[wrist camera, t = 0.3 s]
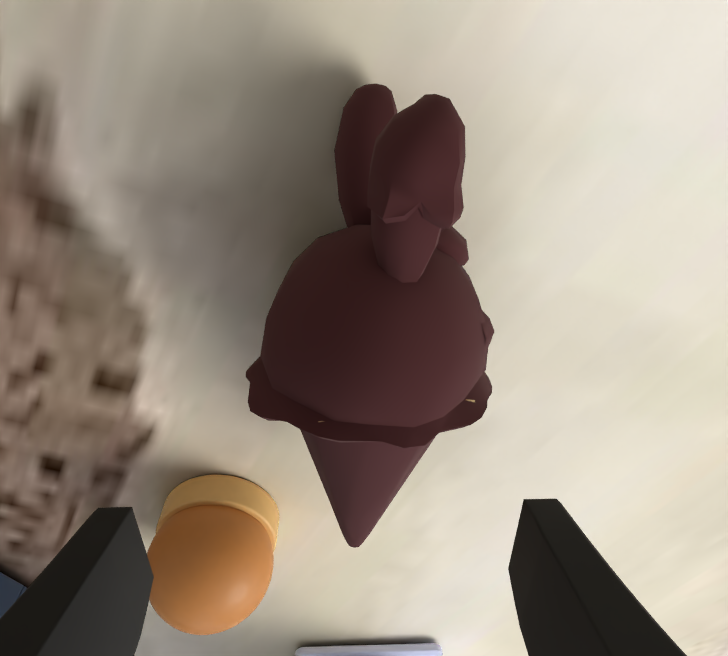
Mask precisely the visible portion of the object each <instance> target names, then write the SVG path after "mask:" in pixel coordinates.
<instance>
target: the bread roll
mask: <svg viewBox="0 0 728 656" xmlns="http://www.w3.org/2000/svg"><path fill="white" fill-rule="evenodd" d="M278 525H279V512H278V508H277V506H276V503H275V502H274V500H273V499H272V497H271V496H270V495H269V494H268V493H267V492H266V491H265V490H263V489H262V488H261V487H259V486H258V485H256V484H254V483H252V482H250V481H247V480H245V479H241V478H238V477H234V476H228V475H205V476H199V477H195V478H192V479H189V480H187V481H185V482H183V483H181V484H180V485H178V486H177V487H176V488H174V489H173V490H172V491H171V493H170V494H169V495H168V497H167V499H166V501H165V504H164V507H163V509H162V512H161V515H160V518H159V521H158V524H157V527H156V535H155V537H154V538H153V541H152V543H151V545H150V547H149V550H148V553H147V557H148V560H149V563H150V566H151V569H152V572H153V576H154V579H153V583H152V588H151V593H150V597H149V600H150V602H151V605H152V606H153V608H154V609H155V611H156V612H157V614H158V615H159V616H160V617H161V618H162V619H163V620H164V621H165V622H166V623H167V624H169V625H170V626H172V627H174V628H176V629H178V630H180V631H182V632H185V633H189V634H195V635H209V634H215V633H219V632H222V631H225V630H228V629H230V628H232V627H234V626H236V625H237V624H239V623H240V622H242V621H243V620H244V619H246V618H247V617H248V616H249V615H250V614H251V613H252V612H253V611H254V610H255V609H256V607H257V606H258V605H259V603H260V602H261V600H262V599H263V597H264V595H265V593H266V591H267V589H268V586H269V583H270V581H271V576H272V571H273V561H274V560H273V552H274V550H275V547H276V541H277V533H278Z"/></svg>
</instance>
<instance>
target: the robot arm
mask: <svg viewBox="0 0 728 656" xmlns="http://www.w3.org/2000/svg"><path fill="white" fill-rule="evenodd" d="M508 570H509V575H510V580H511V585H512V591H513V596H514V601H515V606H516V610H517V615H518V620H519V625H520V628H521V632H522V635H523V638H524V642H525V645H526V648H527V651H528V655H529V656H687V655H686V654H685V653H684V652H683V651H682V650H681V649H680V648H679V647H678V646H677V645H676V644H675V642H674V641H673V640H672V639H671V638H670V637H669V636H668V635H667V633H666V632H665V631H664V630H663V629H662V628H661V627H660V626H659V624H658V623H657V622H656V621H655V620H654V619H653V618H652V616H651V615H650V614H649V613H648V612H647V610H646V609H645V608H644V607H643V606H642V605H641V603H640V602H639V601H638V600H637V599H636V597H635V596H634V595H633V594H632V593H631V592H630V590H629V589H628V588H627V587H626V586H625V584H624V583H623V582H622V581H621V580H620V578H619V577H618V576H617V575H616V573H615V572H614V571H613V570H612V568H611V567H610V566H609V565H608V563H607V562H606V561H605V560H604V558H603V557H602V556H601V555H600V553H599V552H598V551H597V550H596V548H595V547H594V546H593V544H592V543H591V542H590V541H589V539H588V538H587V537H586V535H585V534H584V533H583V532H582V530H581V529H580V528H579V526H578V525H577V524H576V522H575V521H574V520H573V518H572V517H571V516H570V514H569V513H568V512H567V510H566V509H565V508H564V507H563V505H562V504H561V503H560V502H559V501H558V500H557V499H524V501H523V505H522V510H521V514H520V519H519V523H518V528H517V532H516V537H515V541H514V545H513V550H512V554H511V559H510V563H509V568H508ZM153 579H154V576H153V572H152V569H151V566H150V563H149V560H148V557H147V553H146V550H145V547H144V544H143V541H142V538H141V534H140V531H139V528H138V525H137V522H136V519H135V515H134V512H133V509H132V507H114V508H98V509H96V510H95V511H94V512H93V513H92V515H91V516H90V517H89V518H88V519H87V520H86V521H85V523H84V524H83V525H82V526H81V527H80V528H79V530H78V531H77V532H76V533H75V534H74V535H73V537H72V538H71V539H70V540H69V541H68V542H67V544H66V545H65V546H64V547H63V548H62V549H61V551H60V552H59V553H58V554H57V555H56V556H55V558H54V559H53V560H52V561H51V562H50V563H49V564H48V566H47V567H46V568H45V569H44V570H43V571H42V573H41V574H40V575H39V576H38V577H37V578H36V579H35V581H34V582H33V583H32V584H31V585H30V586H29V587H28V588H27V589H26V591H25V592H24V593H23V594H22V595H21V596H20V597H19V598H18V599H17V601H16V602H15V603H14V604H13V605H12V606H11V607H10V608H9V609H8V610H7V612H6V613H5V614H4V615H3V616H2V617H1V618H0V656H134V654H135V651H136V648H137V645H138V642H139V639H140V636H141V632H142V628H143V624H144V619H145V615H146V611H147V607H148V602H149V597H150V593H151V588H152V583H153ZM442 655H443V653H442V647H441V646H440V645H439V644H436V643H422V644H387V645H353V646H318V647H300V648H298V649H297V650H296V652H295V656H442Z"/></svg>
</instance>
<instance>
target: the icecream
mask: <svg viewBox="0 0 728 656" xmlns="http://www.w3.org/2000/svg"><path fill="white" fill-rule="evenodd" d="M334 152H335V163H336V174H337V184H338V195H339V202H340V205H341V208H342V212H343V215H344V218H345V221H346V225H347V228H345V229H342V230H339V231H336V232H333V233H330V234H327V235H324V236H322V237H319V238H317V239H316V240H315V241H314V242H313V243H312V244H311V245H310V246H309V247H308V248H307V249H306V250H305V251H304V252H303V253H302V254H300V255H299V256H298V257H297V258H296V259H295V260H294V261H293V263H292V265H291V267H290V269H289V271H288V272H287V274H286V276H285V278H284V280H283V282H282V284H281V285H280V287H279V289H278V292H277V294H276V296H275V299H274V301H273V303H272V306H271V308H270V311H269V313H268V315H267V318H266V324H265V330H264V336H263V342H262V349H261V356H260V357H259V358H258V359H257V360H256V361H255V362H254V363H253V364H252V365H251V366H250V368H249V369H248V370H247V371H246V378H247V379H248V380H249V382H250V388H249V397H248V404H249V408H250V411H251V412H253V413H255V414H256V415H258V416H260V417H262V418H264V419H267V420H270V421H285V422H288V423H290V424H292V425H294V426H295V427H297V428H299V429H300V430H301V432H302V435H303V437H304V440H305V442H306V444H307V447H308V449H309V452H310V454H311V457H312V459H313V462H314V464H315V466H316V469H317V471H318V474H319V476H320V479H321V481H322V483H323V486H324V488H325V491H326V493H327V496H328V498H329V501H330V503H331V506H332V508H333V511H334V513H335V516H336V518H337V521H338V523H339V526H340V529H341V531H342V533H343V535H344V537H345V540H346V542H347V543H348V545H349V546H351V547H354V548H355V547H359V546H360V545H361V544H362V543H363V542H364V540H365V539H366V538H367V536H368V535H369V534H370V532H371V531H372V529H373V528H374V526H375V525H376V523H377V522H378V520H379V519H380V518H381V516H382V515H383V513H384V512H385V510H386V509H387V507H388V506H389V504H390V503H391V501H392V500H393V498H394V497H395V495H396V494H397V492H398V491H399V489H400V488H401V486H402V485H403V484H404V482H405V481H406V479H407V478H408V476H409V475H410V473H411V472H412V470H413V469H414V467H415V466H416V464H417V463H418V461H419V460H420V459H421V457H422V456H423V454H424V453H425V451H426V450H427V448H428V447H429V445H430V444H431V442H432V441H433V439H434V438H435V436H436V435H437V434H438V433H440V432H445V431H449V430H454V429H458V428H462V427H465V426H468V425H471V424H473V423H474V422H476V421H477V420H479V419H480V418H482V416H483V414H484V412H485V410H486V408H487V400H488V398H489V396H490V395H491V393H492V385H491V383H490V380H489V378H488V376H487V375H486V373H485V372H484V371H485V370H486V362H487V352H488V346H489V344H490V342H491V339H492V336H493V334H494V329H493V326H492V324H491V321H490V318H489V317H488V316H487V315H486V314H485V313H484V312H483V311H482V309H481V306H480V303H479V299H478V297H477V294H476V292H475V289H474V287H473V284H472V282H471V280H470V277H469V275H468V274H467V273H466V271H465V270H464V268H463V267H462V265H465V264H466V262H467V261H468V259H469V257H468V250H467V243H466V239H465V238H464V237H463V236H462V235H460V234H459V233H458V232H457V231H456V230H455V229H454V228H453V227H452V225H453V224H454V223H455V222H456V221H457V220H458V219H459V218H460V217H461V214H462V211H463V208H464V207H463V198H462V188H461V183H462V176H463V169H464V163H465V126H464V124H463V122H462V120H461V119H460V117H459V115H458V113H457V111H456V110H455V108H454V106H453V104H452V102H451V100H450V99H449V98H446V97H443V96H440V95H437V94H429V95H424V96H423V97H422V98H421V99H419V100H418V101H417V102H416V103H415V104H413V105H411V106H410V107H408V108H406V109H404V110H402V111H401V112H399V113H397V109H396V105H395V102H394V98H393V95H392V91H391V90H389V89H388V88H387V87H386V86H384V85H379V84H368V85H364V86H362V87H360V88H358V89H356V90H355V92H354V93H353V95H352V96H351V98H350V99H349V101H348V102H347V104H346V105H345V107H344V109H343V113H342V118H341V123H340V127H339V132H338V136H337V141H336V146H335V150H334Z"/></svg>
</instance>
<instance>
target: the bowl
mask: <svg viewBox="0 0 728 656" xmlns="http://www.w3.org/2000/svg"><path fill="white" fill-rule="evenodd" d="M26 589H27V587H26V586H24V585H22V584H21V583H19V582H17V581H15V580H13V579H12V578H10V577H8V576H6V575H4V574H3V573H1V572H0V618H1V617H2V616H3V615H4V614H5V613H6V612H7V610H8V609H9V608H10V607H11V606H12V605H13V604H14V603H15V602H16V601H17V599H18V598H19V597H20V596H21V595H22V594H23V593H24V592H25V591H26Z"/></svg>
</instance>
